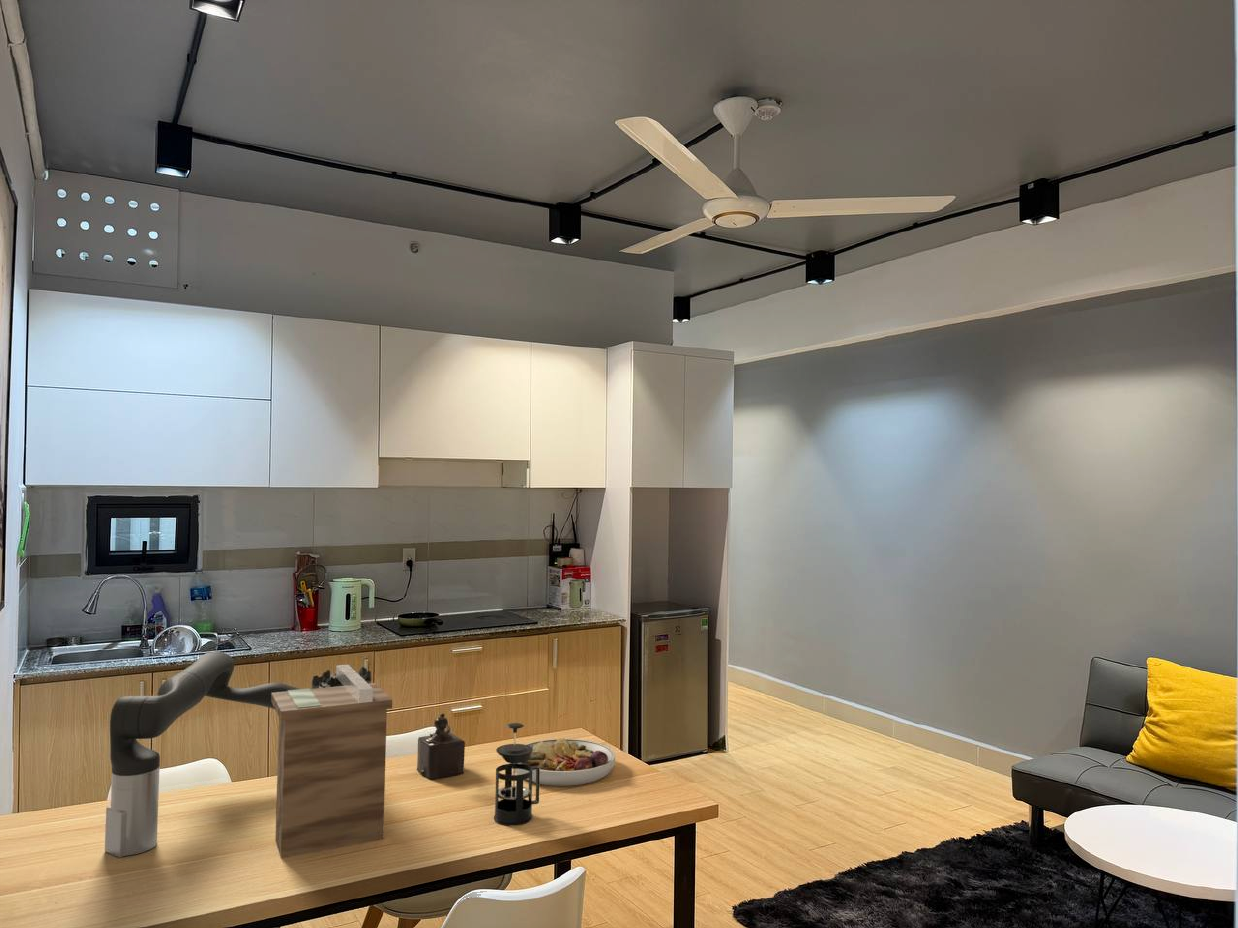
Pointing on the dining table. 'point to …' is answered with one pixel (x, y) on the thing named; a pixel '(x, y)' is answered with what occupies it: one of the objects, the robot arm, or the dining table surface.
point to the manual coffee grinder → (440, 752)
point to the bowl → (569, 761)
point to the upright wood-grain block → (329, 769)
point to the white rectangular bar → (354, 683)
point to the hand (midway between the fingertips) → (346, 672)
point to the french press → (514, 802)
